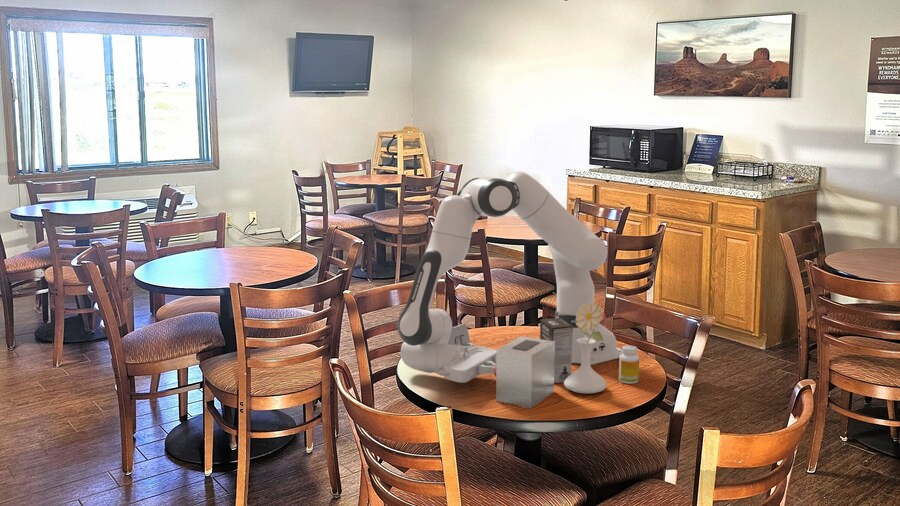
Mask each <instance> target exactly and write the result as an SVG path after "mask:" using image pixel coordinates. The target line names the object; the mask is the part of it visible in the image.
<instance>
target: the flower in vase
mask: <svg viewBox="0 0 900 506" xmlns="http://www.w3.org/2000/svg"><path fill="white" fill-rule="evenodd" d="M576 314H577V315H576V317H577V318H576V321H577V322H576V325H577V326H579V329H580V331H581V332H582V333H584V334H585V335H587V336H589V334H588V333H587V332H586V331H588V330H589V329H591V330H593V332H592V334H591V336H589V338H580V339H578V340H577V342H578V343H579V345H580V348H581V354H582V362H581V364H580V366H579V368H577V369H576V370H575V371H573V372H571V375H569V376H568V377H567V378H566V379H565V381H564V382H563V385H564V387H565V388H566V389H568V390H570V391H572V392H574V393H578V394H587V395H588V394H589V395H591V394H596V393H599V392H602V391H604V390H605V389H606V388H607V385H608V384H607V382H606V380H605V379H604V377H602V376H601V375H600V374H599V373H597V372H596V371H595V370H594V369H593V368H592V365H590V355H591V350H592V347H593V345H594V344H595V342H596V341H601V340H603V338H602V335H601V333H600V331H596V332H594V331H595V328H596V327H597V324H601V321H603V320H602V319H603V317H602V315H603V308H601V306H600V305H598V304H597V303H595V301H594V302H593V303H591V304H590V303H587V304H586V305H585V304H583V305H582V308H579V312H577V313H576ZM585 330H586V331H585ZM592 335H593V337H594V339H590V338H591V337H592Z"/></svg>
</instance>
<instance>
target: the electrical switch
mask: <svg viewBox="0 0 900 506" xmlns="http://www.w3.org/2000/svg"><path fill="white" fill-rule="evenodd" d="M466 343H471V338H470V333H469V329H468V326H467V324H466V323H461V324H458V325H456V326H453V328H452V333H451V337H450V341H449V344H450V345H461V344H466Z"/></svg>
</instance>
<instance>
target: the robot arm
mask: <svg viewBox="0 0 900 506" xmlns="http://www.w3.org/2000/svg"><path fill="white" fill-rule="evenodd" d="M511 211H513V212H514V213H515V214H516V215H517V216H518V217H519V219H521V220H522V221H523V222H524V223H525V224H526V225H527V226H528V227H529V228H530V229H531V230H532V232H534V233H535V235H537V236H538V237H539V238H540V239H542V240H543V241H544V242H546V244H547V245H548V249H549V251H550V254H551V257H552V262H553V270H554V274H555V279H556V310H554V318H562V319H563V320H564V321H566V322H567V323H569V324H570V325H572V326H573V331H572V362H571V364H580V365H581V362H582V354H581V348H580V345H579V343H578V342H577V340H578V339H580V338H589V336H591V334H592V332H593V330H591V329H589V330H588V331H586V330H585V331H586V332H587V333H588V334H589V336H587V335H585V334H584V333H582V332H581V331H580V329H579V326H577V325H576V322H577V321H576V318H577V317H576V315H577V314H576V313H577V312H579V308H582V305H583V304H585V305H586V304H587V303H590V304H591V303H593V302H594V303H595V284H594V282H593V280H592V276H591V274H590V271H595V270H598V269H599V268H601V267H602V266H603V265H604V264H605V262H606V260H607V256H608V248H607V246H606V244H605V242H604V241H603V240H602V239H601V238H600V237H598V235H596V233H594V232H593V231H592V230H591V229H589V228H588V227H587V226H586V225H585V224H584V223H583V222H581V220H580V219H579V218H577V217H575V216H574V215H573V214H572V213H571V212H569V210H567V208H565V207H564V206H563V205H562V204H561V203H560V202H559V201H558V200H557V198H555V197H554V196H553V195H552V193H550V191H548V189H546V188H545V186H543V185H542V184H541V182H539V181H538V180H536V179H535V178H534V177H532V176H531V175H530V174H528V173H527V172H524V171H516V172H513V173H511V174H510V175H508V176H507V177H506V178H505V179H504V178H498V177H497V178H495V177H489V176H485V177H475V178H472V179H470V180H468V181H467V182H466V183H464V184H463V186H462V187H461V188H460V190H459V191H458V193H456V194H452V195H449V196H446V197H444V198H443V200H442V201H441V202H440V205H439V207H438V209H437V213H436V214H435V215H436V216H435V217H434V218H435V219H434V222H433V226H432V231H431V235H430V238H429V242H428V245H427V248H426V250H425V252H424V254H423V255H422V258H421V259H420V262H419V264H418V267H417V270H416V273H415V277H414V280H413V282H412V285H411V290H410V292H409V296H408V299H407V302H406V304H405V306H404V308H403V309H402V311H401V313H400V314H399V316H398V318H397V319H398V320H397V324H396V326H397V327H396V329H397V333H398V335H399V337H400V338H401V340H402V341H403V342H402V344H401V348H400V357H401V360H402V362H403V363H404V365H405V366H407V367H408V368H411V369H413V370H415V371H419V372H422V373H423V372H424V373H427V374H431V373H434V374H437V375H439V376H442V377H444V379H446V380H449V381H452V382H455V383H460V384H465V383H467V382H469V381H471V380H473V379H474V378H476V377H478V376H480V375H483V374H484V375H485V374H486V375H487V374H491V375H495V373H494V371H495V366H496V352H497V349H494V348H489V347H485V346H478V345H476V346H475V344H474V343H466V344H461V345H450V344H449V341H450V337H451V333H452V328H453V327H454V326H453V320H452V317H451V315H450V314H449V313H448V311H446V310H445V309H442V308H431V305H432V302H433V301H432V300H433V298H434V294H435V292H436V287H437V286H438V285H437V284H438V283H439V280H440V279H441V277H442V276H443V275H444V274H445V273H447V272H448V271H449V270H451V269H453V268H455V267H457V266H459V265H460V264H461V263H463V262H464V261H465V258H466V256H467V254H468V252H469V248H470V244H471V238H472V234H473V228H474V226H475V224H476V222H477V220H478V219H479V218H480V217H491V218H498V217H502V216H504V215H506V214H508V213H509V212H511ZM602 313H603V312H602ZM602 317H603V319H602V320H601V321H604V320H605V319H606V317H607V316H606V314H605V313H603V315H602ZM596 331H600V333H601V335H602V338H603V340H601V341H596V342H595V344H594V345H593V347H592V350H591V355H590V366H593V365H597V364H600V363H604V362H605V363H606V362H608V361H612V360H616V359H619V358H620V355H621V354H622V353H623V352H622V348H620V347H618V345H617V338H616V336H615V335H614V333H613V332H612V331H610V330H609V329H608V328H606V327H605V326H604V325H602V323H600V324H597V327H596V328H595V331H594V332H596ZM590 339H594V337H593V335H592V337H591V338H590Z"/></svg>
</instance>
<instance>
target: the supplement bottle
mask: <svg viewBox="0 0 900 506" xmlns="http://www.w3.org/2000/svg"><path fill="white" fill-rule="evenodd" d="M621 350H622V352H623V353H622V354H621V355H620V358H618V359H619V360H618V361H619V363H618V365H619V366H618V368H619V369H618V381H619V382H621V383H623V384H626V385H627V384H628V385H631V384H632V385H633V384H637V383H638V382H639V377H640V375H639V374H640V356H639V355H638V354H637V353H638V347H637V346H636V345H635V346H634V345H630V344H628V345H623V346H622V348H621Z"/></svg>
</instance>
